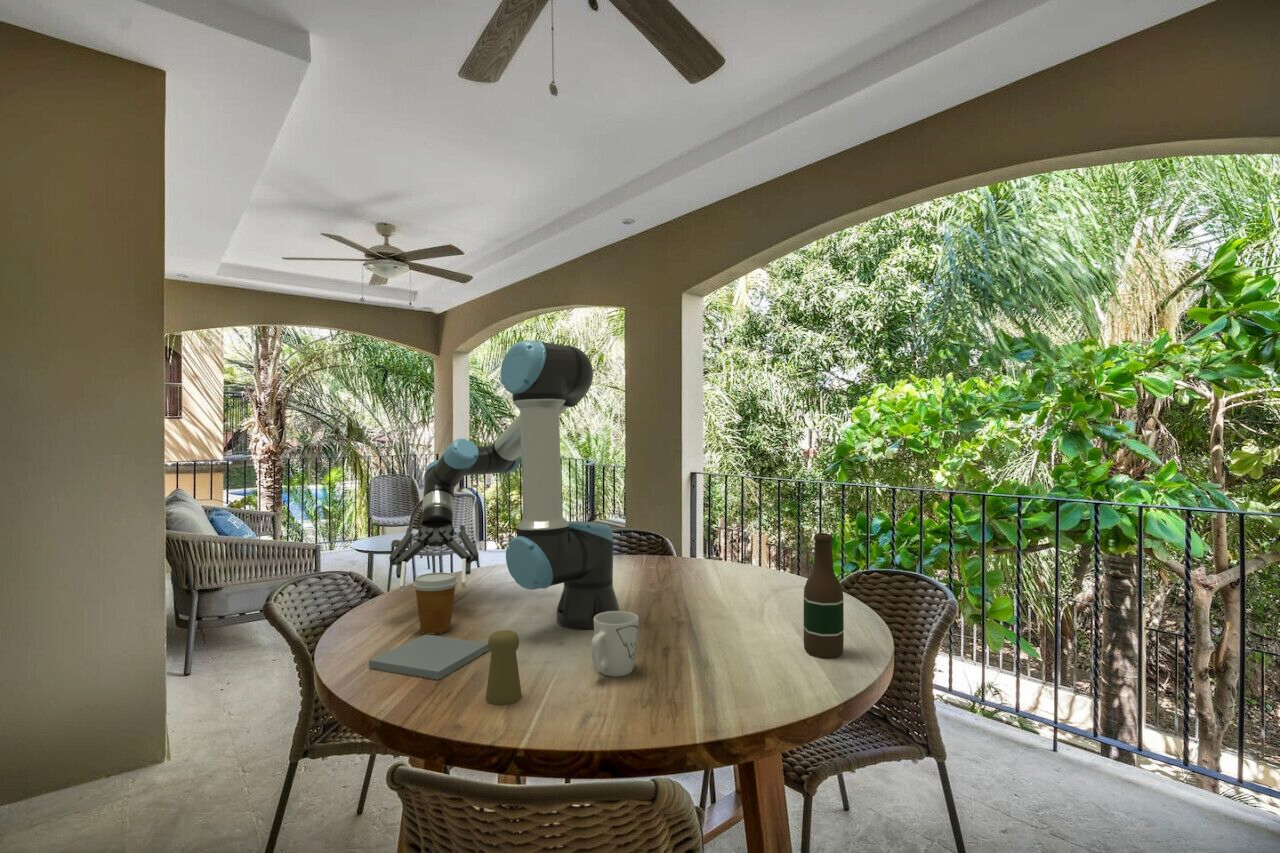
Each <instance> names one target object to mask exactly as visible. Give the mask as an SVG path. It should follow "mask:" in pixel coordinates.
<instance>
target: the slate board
mask: <svg viewBox="0 0 1280 853" xmlns="http://www.w3.org/2000/svg"><path fill="white" fill-rule="evenodd" d="M487 651H488V652H489V648H488V642H483V641H482V642H481V641H474V640H468V639H461V638H454V637H448V636H439V635H435V634H424V635H422V636H419V637H417V638H415V639H413V640H410V641H409V642H406V643H403V644H402V645H399V646H397V647H395V648H392V649H391V650H388V651H387V652H383V653H382V654H379V655H378V656H375V657H373V658H371V659H369V660H368V669H372V670H377V671H382V672H383V671H384V672H389V673H395V674H401V675H407V676H413V677H417V676H418V677H417V678H423V677H424V678H425V679H429V678H430V680H435V679H436V681H439V679H440V680H441V679H443V678H445V677H446V675H447V676H448V675H450V674H451V673H453V672H455V671H457V670H459V669H460V668H462V667H464V666H465V664H466V663H467V664H469V663H471V662H472V661H471V660H473V659H474V660H476V659H477V657H478V656H479V657H481V656H483V655H484V654H483V653H485V652H486V653H488V652H487ZM486 653H485V654H486ZM482 654H483V655H482ZM480 655H481V656H480ZM479 657H478V658H479ZM475 658H476V659H475ZM474 660H473V661H474ZM470 661H471V662H470ZM468 662H469V663H468ZM467 664H466V665H467ZM463 665H464V666H463ZM461 666H462V667H461ZM458 668H459V669H458ZM456 669H457V670H456Z"/></svg>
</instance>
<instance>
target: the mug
mask: <svg viewBox="0 0 1280 853" xmlns="http://www.w3.org/2000/svg"><path fill="white" fill-rule="evenodd" d="M639 619H640V618H639V615H637V614H636V613H634V612H630V611H626V610H625V611H624V610H620V611H608V612H603V613H599V614H597V615H596V616H595V617H594V629H593V631H594V634H593V635H594V636H593V637H592V639H591V641H590V650H591V651H590V652H591V659H592V666H593V669H594V670H595V671H596V672H599V673H601V674H602V675H604V676H608V677H612V678H613V677H615V678H616V677H617V678H618V677H625V676H627V675H630V674H631V673H632V671H633V669H634V666H635V659H636V654H637V648H638V636H639V622H640V620H639Z"/></svg>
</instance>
